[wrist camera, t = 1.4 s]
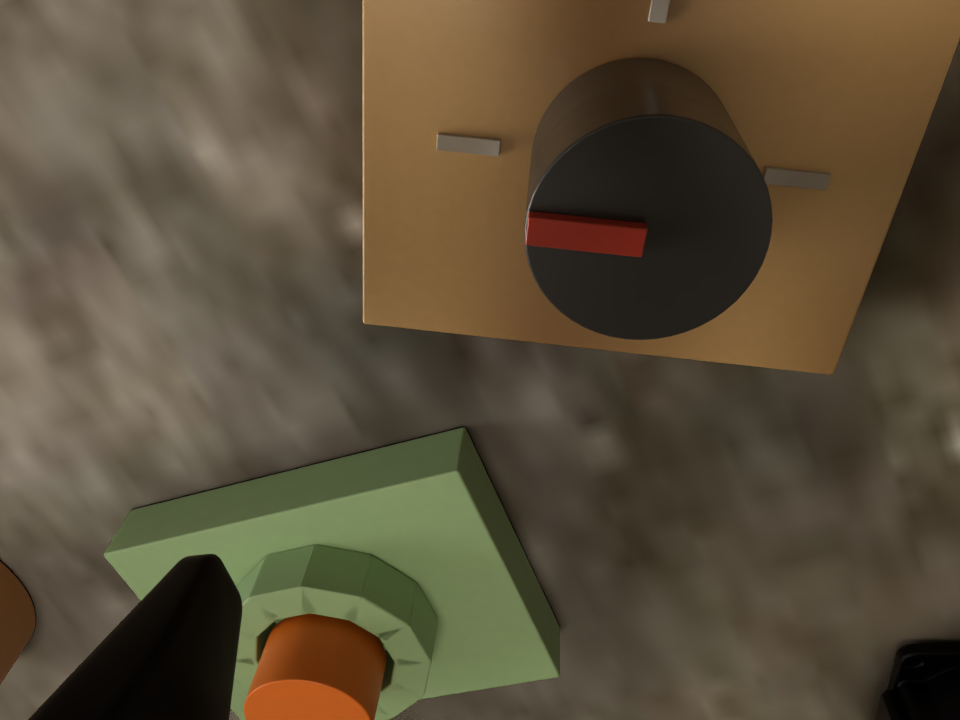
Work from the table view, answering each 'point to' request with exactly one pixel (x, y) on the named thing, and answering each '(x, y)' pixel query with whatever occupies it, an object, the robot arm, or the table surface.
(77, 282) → the table surface
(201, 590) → the robot arm
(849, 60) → the board
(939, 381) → the table surface
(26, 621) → the bracket
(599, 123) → the lock dial
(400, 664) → the green flat block
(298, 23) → the table surface
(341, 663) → the orange short cylinder
